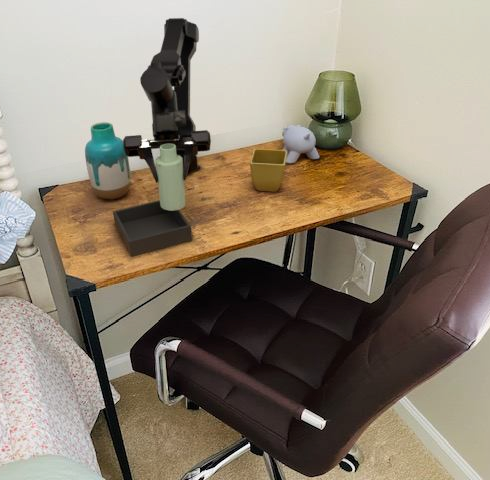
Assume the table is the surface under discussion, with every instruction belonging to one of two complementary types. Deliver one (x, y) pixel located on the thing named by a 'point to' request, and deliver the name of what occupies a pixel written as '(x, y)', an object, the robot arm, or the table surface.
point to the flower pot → (267, 169)
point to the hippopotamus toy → (299, 143)
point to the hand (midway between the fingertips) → (170, 181)
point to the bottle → (170, 178)
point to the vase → (107, 162)
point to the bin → (151, 228)
